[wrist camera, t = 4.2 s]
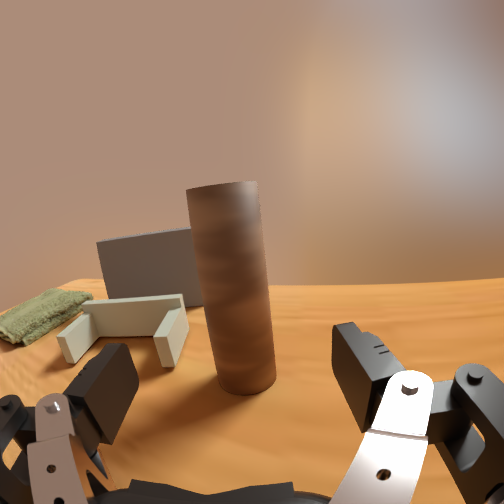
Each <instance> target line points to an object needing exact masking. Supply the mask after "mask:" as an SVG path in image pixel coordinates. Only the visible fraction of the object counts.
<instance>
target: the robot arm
mask: <svg viewBox="0 0 504 504" xmlns="http://www.w3.org/2000/svg"><path fill="white" fill-rule="evenodd" d="M332 369H333V372H334V375H335V377H336V379H337V381H338V384H339V386H340V388H341V390H342V392H343V394H344V396H345V398H346V400H347V403H348V405H349V407H350V409H351V411H352V413H353V415H354V418H355V420H356V422H357V424H358V426H359V428H360V431H361V433H364V432H367V433H366V435H365V437H364V439H363V442H362V444H361V446H360V448H359V450H358V452H357V454H356V456H355V458H354V460H353V462H352V464H351V466H350V468H349V470H348V471H347V473H346V475H345V477H344V479H343V480H342V482H341V484H340V486H339V487H338V489H337V491H336V492H335V494H334V496H333V497H332V498H331V497H327V496H324V495H320V494H316V493H310V492H303V491H294V489H293V483H292V482H286V483H278V484H269V485H258V486H248V487H244V488H240V489H236V490H231V491H227V492H222V493H217V494H211V495H203V494H199V493H195V492H191V491H188V490H184V489H181V488H177V487H174V486H171V485H168V484H161V483H153V482H146V481H140V480H134V479H132V480H131V483H130V486H129V488H126V489H118V490H117V488H116V486H115V484H114V482H113V480H112V478H111V475H110V473H109V471H108V468H107V466H106V464H105V461H104V459H103V456H102V453H101V451H100V450H99V448H98V445H99V443H104V444H110V445H112V444H113V441H114V439H115V437H116V435H117V433H118V430H119V428H120V426H121V424H122V422H123V420H124V417H125V415H126V413H127V411H128V409H129V407H130V405H131V403H132V400H133V398H134V396H135V394H136V392H137V390H138V387H139V378H138V374H137V371H136V369H135V366H134V363H133V360H132V357H131V355H130V352H129V349H128V347H127V345H126V344H124V343H108V344H106V345H105V347H104V348H103V349H102V350H101V352H100V353H99V354H98V355H97V356H95V357H94V358H92V359H91V360H89V361H88V362H87V364H86V365H85V366H84V367H83V370H81V371H80V372H79V373H78V375H77V376H76V377H75V378H74V380H73V381H72V382H71V383H70V385H69V386H68V387H67V389H66V390H65V391H64V392H63V394H59V393H54V394H49V395H47V396H45V397H43V398H42V399H40V400H39V401H38V403H37V404H36V407H25V406H24V405H23V403H22V401H21V399H20V398H19V397H18V396H17V395H7V396H4V397H2V398H1V399H0V504H410V501H411V498H412V495H413V493H414V490H415V486H416V483H417V480H418V477H419V473H420V470H421V466H422V463H423V459H424V455H425V451H426V446H427V445H429V444H435V446H436V448H437V450H438V451H439V453H440V455H441V457H442V459H443V460H444V462H445V464H446V466H447V468H448V470H449V471H450V473H451V475H452V477H453V479H454V481H455V483H456V485H457V487H458V489H459V490H460V492H461V494H462V496H463V498H464V500H465V502H466V504H504V384H503V383H502V382H501V381H500V380H499V379H498V378H497V377H496V376H495V375H494V374H493V373H492V372H491V371H490V370H489V369H488V368H486V367H485V366H483V365H480V364H473V363H472V364H465V365H463V366H461V367H460V368H458V370H457V371H456V374H455V377H454V380H447V381H440V382H432V381H431V380H430V378H429V377H427V376H426V375H424V374H422V373H419V372H415V371H407V370H406V369H405V368H404V367H403V365H402V364H401V363H400V362H399V361H398V360H397V358H396V357H395V356H394V355H393V354H392V353H391V352H389V349H388V348H387V347H386V346H384V343H383V342H382V341H381V340H380V339H379V338H378V337H377V336H375V335H373V334H371V333H369V332H363V333H362V332H361V331H360V330H359V328H358V327H357V326H356V325H355V323H354V322H349V323H343V324H338V325H334V326H333V329H332ZM473 423H474V424H475V425H476V426H477V428H478V429H479V430H480V432H481V433H482V435H483V436H484V439H485V442H484V441H483V440H482V438H481V437H480V435H479V434H478V433H477V431H476V430H475V428H474V427H473V426H472V425H473ZM12 438H13V439H14V440H15V442H16V443H17V444H18V446H19V447H20V448H21V449H22V451H21V453H20V454H19V456H18V458H17V460H16V461H15V463H14V465H13V466H12V468H11V470H9V469H8V468H7V467H6V465H5V464H4V462H3V459H2V454H3V452H4V450H5V448H6V447H7V445H8V444H9V442H10V441H11V439H12Z"/></svg>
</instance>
